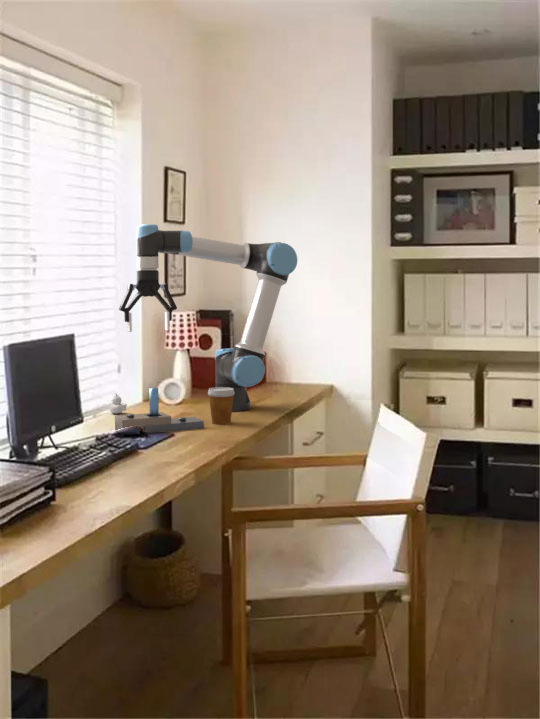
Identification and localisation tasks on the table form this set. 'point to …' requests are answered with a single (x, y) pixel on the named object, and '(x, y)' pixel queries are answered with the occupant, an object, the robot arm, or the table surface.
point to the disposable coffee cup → (221, 404)
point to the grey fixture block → (158, 422)
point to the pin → (153, 402)
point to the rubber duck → (117, 405)
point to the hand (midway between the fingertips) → (148, 331)
